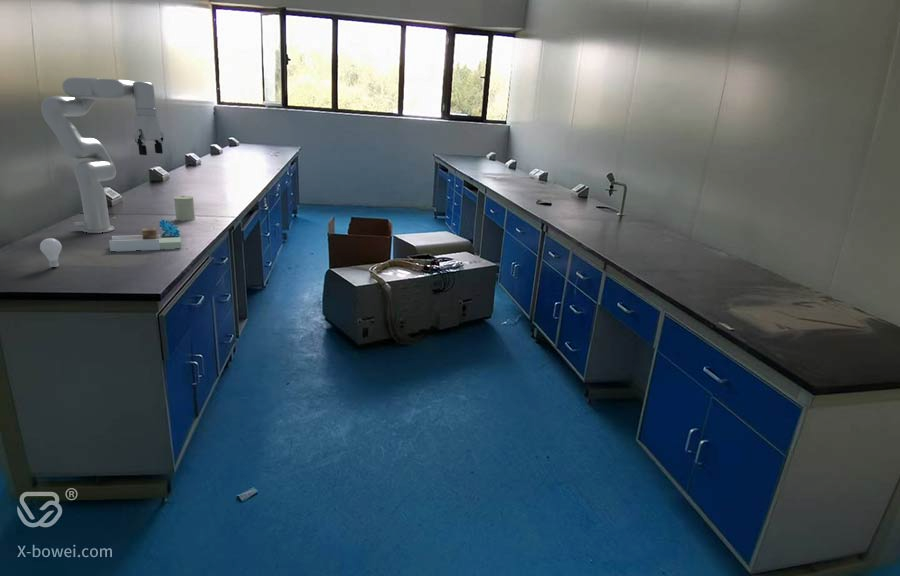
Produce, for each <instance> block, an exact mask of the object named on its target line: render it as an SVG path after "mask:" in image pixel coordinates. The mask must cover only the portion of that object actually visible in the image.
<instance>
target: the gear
mask: <svg viewBox="0 0 900 576" xmlns="http://www.w3.org/2000/svg"><path fill="white" fill-rule="evenodd" d="M169 222H170V221H169V220H167V219H166V220H165V219H161V220H160V221H159V222H158V223H159V227H160V228H161V230H162V231H164V232H163V233H162V234H161V236H163V237H164V236H165V235H170V237H171V238H174V237H177V236H178V235H179V236H180V235H181V234H180V232H181V230H179V226H178V225H177V224H176V225H175V226H174V223H173V222H170V223H169ZM170 233H171V234H170ZM179 236H178V237H179Z"/></svg>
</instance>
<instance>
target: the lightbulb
mask: <svg viewBox="0 0 900 576" xmlns="http://www.w3.org/2000/svg"><path fill="white" fill-rule="evenodd" d="M39 249H40V251H41V253H43V254H44V256H45V257H46V258H47V260H48V263H49V267H50V268H52V267H56V268H58V267H59V254H61V252H62V249H63V245H62V244H61V242H60V241H59V240H58V239H56V238H54V237H51V238H50V237H49V238H48V237H47V238H45V239H43V240H42V241H41V242H40V244H39Z"/></svg>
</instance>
